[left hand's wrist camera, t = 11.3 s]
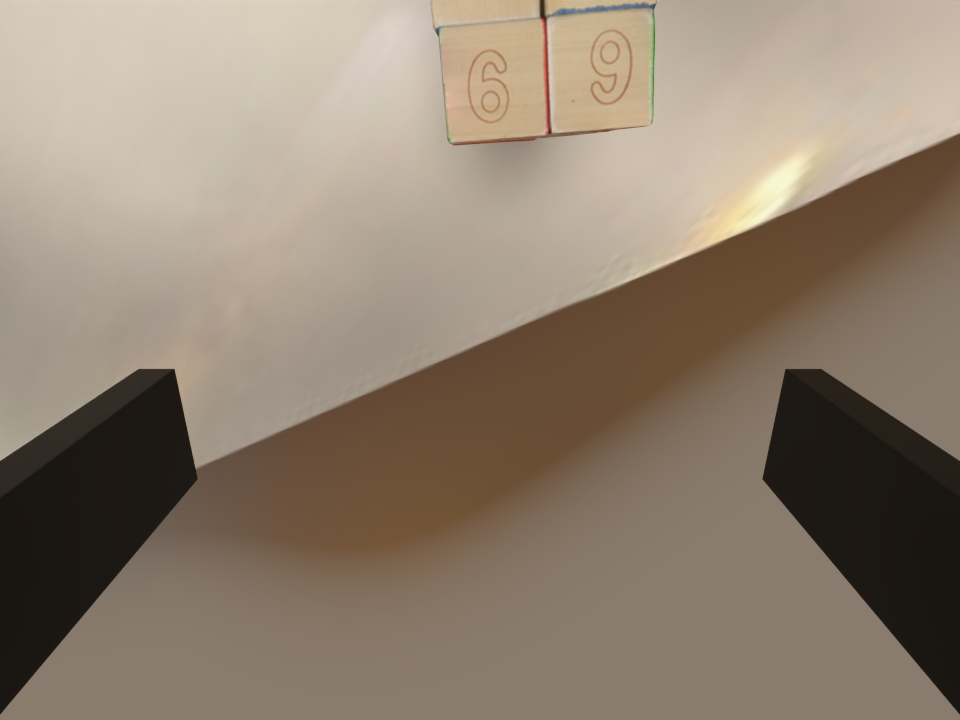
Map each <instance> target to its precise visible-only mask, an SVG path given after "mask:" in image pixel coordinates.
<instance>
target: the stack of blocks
mask: <svg viewBox="0 0 960 720" xmlns="http://www.w3.org/2000/svg"><path fill="white" fill-rule="evenodd" d="M656 3H657V0H431V9H432V19H433V27H434V29H435V32H436V33H437V35H438V37H439V45H440V57H441V69H442V80H443V92H444V102H445V116H446V125H447V138H448V141H449V143H451V144H452V145H466V144H480V143H496V142H510V141H530V140H535V139H536V138H546V137H558V136H569V135H579V134H589V133H597V132H608V131H612V130H617V129H626V128H636V127H644V126H650V125H651V124H652V121H653V96H654V53H655V19H654V13H653V11H654V8H655V5H656Z"/></svg>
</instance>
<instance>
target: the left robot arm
mask: <svg viewBox="0 0 960 720" xmlns="http://www.w3.org/2000/svg"><path fill="white" fill-rule="evenodd" d="M196 480H197V474H196V469H195V465H194V460H193V455H192V450H191V446H190V441H189V436H188V431H187V427H186V422H185V417H184V412H183V407H182V403H181V398H180V393H179V388H178V384H177V379H176V374H175V369H138V370H137V371H135V372H134V373H132V374H131V375H129V376H128V377H126V378H125V379H123V380H122V381H120V382H119V383H117V384H116V385H114V386H113V387H111V388H110V389H108V390H107V391H105V392H104V393H102V394H101V395H99V396H98V397H96V398H95V399H93V400H91V401H90V402H88V403H87V404H85V405H84V406H82V407H81V408H79V409H78V410H76V411H75V412H73V413H72V414H70V415H69V416H67V417H66V418H64V419H63V420H61V421H60V422H58V423H57V424H55V425H54V426H52V427H51V428H49V429H48V430H46V431H45V432H43V433H42V434H40V435H39V436H37V437H36V438H34V439H33V440H31V441H30V442H28V443H27V444H25V445H24V446H22V447H21V448H19V449H18V450H16V451H15V452H13V453H12V454H10V455H9V456H7V457H6V458H4V459H3V460H1V461H0V714H1V713H2V712H3V710H4V709H5V708H6V707H7V706H8V704H9V703H10V702H11V701H12V700H13V699H14V697H15V696H16V695H17V694H18V693H19V691H20V690H21V689H22V688H23V687H24V685H25V684H26V683H27V682H28V681H29V679H30V678H31V677H32V676H33V675H34V673H35V672H36V671H37V670H38V669H39V668H40V666H41V665H42V664H43V663H44V662H45V660H46V659H47V658H48V657H49V656H50V654H51V653H52V652H53V651H54V650H55V648H56V647H57V646H58V645H59V644H60V643H61V641H62V640H63V639H64V638H65V636H66V635H67V634H68V633H69V632H70V631H71V629H72V628H73V627H74V626H75V625H76V623H77V622H78V621H79V620H80V619H81V617H82V616H83V615H84V614H85V613H86V612H87V610H88V609H89V608H90V607H91V605H92V604H93V603H94V602H95V601H96V600H97V598H98V597H99V596H100V595H101V594H102V592H103V591H104V590H105V589H106V588H107V586H108V585H109V584H110V583H111V582H112V581H113V579H114V578H115V577H116V576H117V574H118V573H119V572H120V571H121V570H122V568H123V567H124V566H125V565H126V564H127V563H128V561H129V560H130V559H131V558H132V557H133V555H134V554H135V553H136V552H137V551H138V550H139V548H140V547H141V546H142V545H143V544H144V542H145V541H146V540H147V539H148V538H149V536H150V535H151V534H152V533H153V532H154V530H155V529H156V528H157V527H158V526H159V524H160V523H161V522H162V521H163V520H164V519H165V517H166V516H167V515H168V514H169V512H170V511H171V510H172V509H173V508H174V507H175V505H176V504H177V503H178V502H179V501H180V499H181V498H182V497H183V496H184V495H185V493H186V492H187V491H188V490H189V489H190V487H191V486H192V485H193V484H194V483H195V482H196ZM763 480H764V482H765V483H766V484H767V485H768V486H769V487H770V489H771V490H772V491H773V492H774V493H775V495H776V496H777V497H778V498H779V499H780V501H781V502H782V503H783V504H784V505H785V507H786V508H787V509H788V510H789V511H790V512H791V514H792V515H793V516H794V517H795V518H796V520H797V521H798V522H799V523H800V524H801V526H802V527H803V528H804V529H805V530H806V532H807V533H808V534H809V535H810V536H811V538H812V539H813V540H814V541H815V542H816V544H817V545H818V546H819V547H820V548H821V550H822V551H823V552H824V553H825V554H826V555H827V557H828V558H829V559H830V560H831V561H832V563H833V564H834V565H835V566H836V567H837V569H838V570H839V571H840V572H841V573H842V575H843V576H844V577H845V578H846V579H847V581H848V582H849V583H850V584H851V585H852V586H853V588H854V589H855V590H856V591H857V592H858V594H859V595H860V596H861V597H862V598H863V600H864V601H865V602H866V603H867V604H868V605H869V607H870V608H871V609H872V610H873V612H874V613H875V614H876V615H877V616H878V617H879V619H880V620H881V621H882V622H883V623H884V625H885V626H886V627H887V628H888V629H889V631H890V632H891V633H892V634H893V635H894V637H895V638H896V639H897V640H898V641H899V643H900V644H901V645H902V646H903V647H904V648H905V650H906V651H907V652H908V653H909V654H910V656H911V657H912V658H913V659H914V660H915V662H916V663H917V664H918V665H919V666H920V668H921V669H922V670H923V671H924V672H925V673H926V675H927V676H928V677H929V678H930V679H931V681H932V682H933V683H934V684H935V685H936V687H937V688H938V689H939V690H940V691H941V693H942V694H943V695H944V696H945V697H946V699H947V700H948V701H949V702H950V703H951V704H952V706H953V707H954V708H955V709H956V710H957V712H958V713H959V714H960V461H959V460H957V459H956V458H954V457H953V456H951V455H950V454H948V453H947V452H945V451H944V450H942V449H941V448H939V447H938V446H936V445H935V444H933V443H932V442H930V441H929V440H927V439H926V438H924V437H923V436H921V435H920V434H918V433H917V432H915V431H914V430H912V429H911V428H909V427H908V426H906V425H905V424H903V423H902V422H900V421H899V420H897V419H896V418H894V417H893V416H891V415H889V414H888V413H886V412H885V411H884V410H882V409H880V408H879V407H877V406H876V405H875V404H873V403H872V402H870V401H869V400H867V399H865V398H864V397H862V396H861V395H859V394H858V393H856V392H855V391H853V390H852V389H850V388H849V387H847V386H846V385H844V384H843V383H841V382H840V381H838V380H837V379H835V378H834V377H832V376H831V375H829V374H828V373H826V372H825V371H823V370H822V369H786V370H785V374H784V379H783V384H782V388H781V393H780V398H779V403H778V407H777V412H776V417H775V422H774V427H773V431H772V436H771V441H770V446H769V451H768V455H767V460H766V465H765V470H764V474H763Z"/></svg>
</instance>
